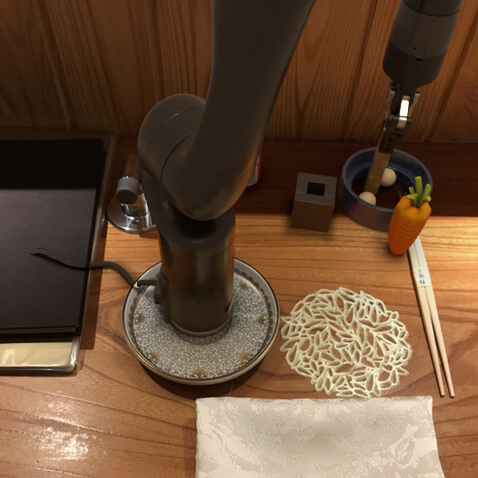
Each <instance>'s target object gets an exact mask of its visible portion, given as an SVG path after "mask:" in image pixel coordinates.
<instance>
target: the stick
mask: <svg viewBox="0 0 478 478" xmlns="http://www.w3.org/2000/svg"><path fill="white" fill-rule="evenodd" d="M385 123H386V121H385ZM384 126H385V124H384ZM382 134H383V130H382V133H381V136H380V139H379V138H378V142H377V146H376V147H377V148H376V151H375V155H374V158H373V161H372V164H371V167H370V170H369V173H368V176H367V177H366V179H365V182H364V191H363V193H364V192H370V193H372V194H373V195H377V194H378V191H379V188H380V186H381V185H380V183H381V180H382V177H383V174H384V172H385V169H386V166H387V163H388V161H389V158H390V155H391V154H385V153H380V152H379V151H378V147H379V144H380V140H381V137H382Z"/></svg>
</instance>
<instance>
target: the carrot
mask: <svg viewBox="0 0 478 478" xmlns="http://www.w3.org/2000/svg"><path fill="white" fill-rule="evenodd" d="M415 183H416V194H415V192H414V188H413V187H409V190H410V193H411V195H410V193H409V194H406V195H404V196H402V197H401V198H400V200H399V201H398V203H397V204H396V205H395V206H394V209H395V210H394V213H393V216H392V219H391V222H390V226H389V232H388V236H387V237H388V238H387V241H388V246H389V250H390V252H391V254H392V255H395V256H399V255H402V254H404V253H405V252H406V251H408V250H409V249H410V248H411V247H412V245H413V244H414V243H415V241H416V240H417V239H418V237H419V236H420V235H421V232H422V231H423V229H424V227H425V226H426V224H427V222H428V221H429V218H430V216H431V214H432V207H431V206H430V204H429V202H430V201H431V200H432V198H431V195H430V196H428V194H429V192H430V189H431V186H430V185H429V184H426V186H425V189H424V192H423V195H422V197H421V194H422V181H421V177H415Z"/></svg>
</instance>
